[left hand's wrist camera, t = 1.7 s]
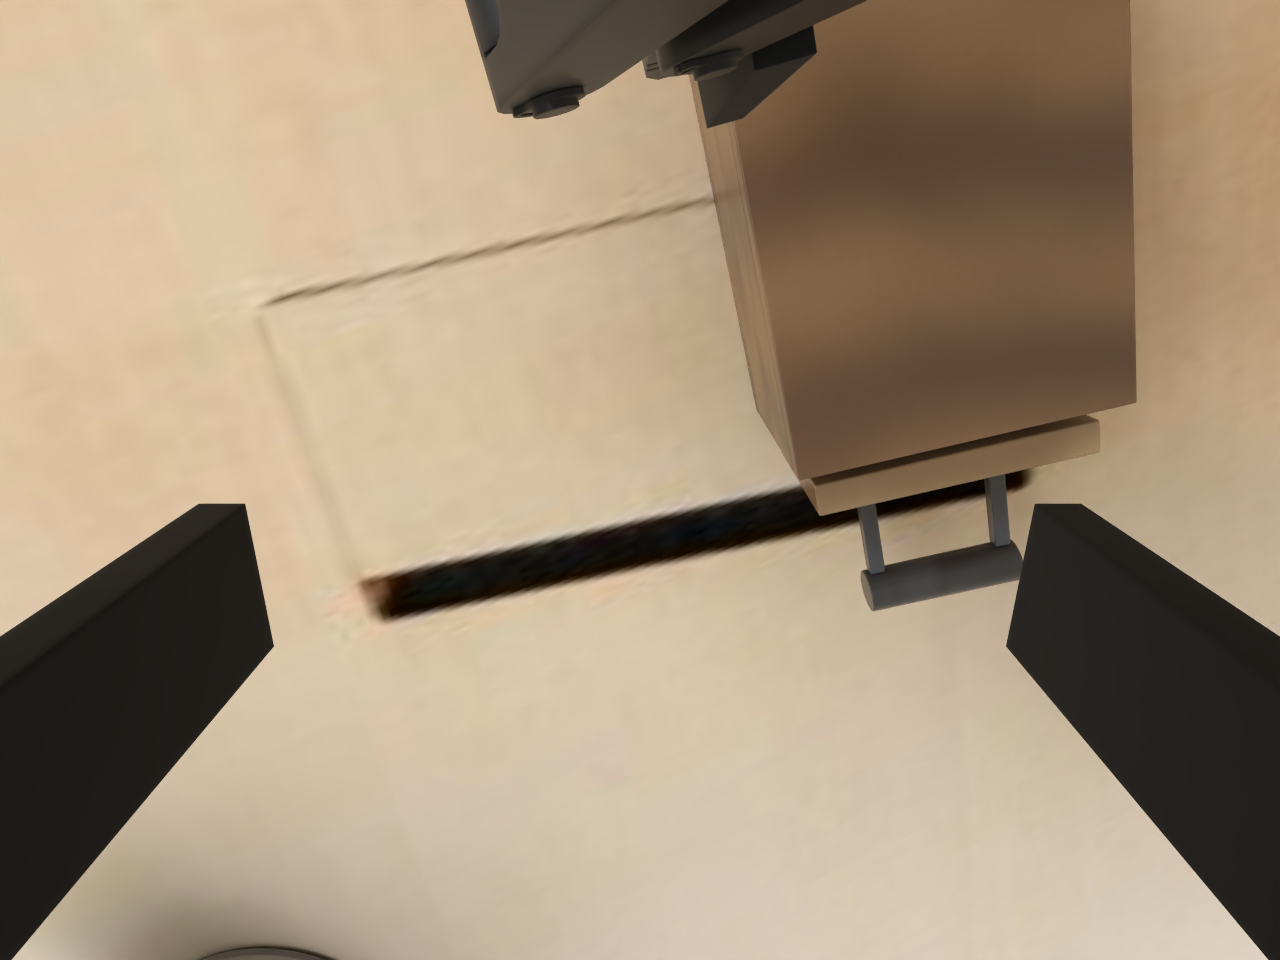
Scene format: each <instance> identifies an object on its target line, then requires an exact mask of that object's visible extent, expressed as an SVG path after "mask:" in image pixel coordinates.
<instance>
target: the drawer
mask: <svg viewBox="0 0 1280 960" xmlns="http://www.w3.org/2000/svg"><path fill="white" fill-rule="evenodd" d="M781 452H782V451H781ZM1098 452H1100V434H1099V421H1098V420H1097V419H1094V418H1092V417H1090V416H1088V415H1086V414H1085V415H1081V416H1076V417H1072V418H1068V419H1064V420H1059V421H1055V422H1051V423H1046V424H1042V425H1038V426H1033V427H1029V428H1025V429H1020V430H1016V431H1012V432H1008V433H1003V434H999V435H995V436H990V437H986V438H982V439H977V440H973V441H969V442H964V443H960V444H956V445H952V446H947V447H943V448H939V449H934V450H930V451H926V452H921V453H917V454H913V455H908V456H904V457H900V458H896V459H891V460H887V461H883V462H878V463H874V464H870V465H865V466H861V467H857V468H852V469H848V470H844V471H840V472H835V473H831V474H827V475H822V476H818V477H814V478H809V479H805V480H799V479H798V477H797V476H796V477H797V479H798V480H799V482H800V484H801V485H802V487H803V489H804V491H805V492H806V494H807V496H808V497H809V499H810V501H811V502H812V504H813V506H814V507H815V509H816V511H817V512H818V514H819V515H820V516H822V515H827V514H831V513H835V512H840V511H844V510H849V509H853V508H857V509H858V515H859V522H860V528H861V534H862V540H863V547H864V553H865V559H866V565H867V570H863V571H861V583H862V588H863V592H864V595H865V598H866V601H867V603H868V605H869V607H870V609H871V610H872V611H877V610H882V609H886V608H891V607H895V606H900V605H905V604H909V603H914V602H919V601H923V600H928V599H933V598H937V597H942V596H946V595H951V594H956V593H960V592H965V591H970V590H974V589H979V588H983V587H988V586H993V585H997V584H1002V583H1007V582H1011V581H1016V580H1020V575H1021V570H1022V565H1023V560H1022V556H1021V554H1020V551H1019V549H1018V547H1017V546H1016V544H1015V543H1014V542H1013V541H1012V540H1011V539H1010V532H1009V520H1008V508H1007V496H1006V484H1005V474H1007V473H1011V472H1015V471H1020V470H1024V469H1029V468H1033V467H1037V466H1042V465H1046V464H1050V463H1055V462H1059V461H1064V460H1068V459H1072V458H1077V457H1081V456H1086V455H1090V454H1094V453H1098ZM782 454H783V452H782ZM783 455H784V454H783ZM784 457H785V456H784ZM785 459H786V457H785ZM786 460H787V459H786ZM787 462H788V461H787ZM788 464H789V462H788ZM789 465H790V464H789ZM790 467H791V466H790ZM791 469H792V467H791ZM792 470H793V469H792ZM793 472H794V471H793ZM794 474H795V472H794ZM795 475H796V474H795ZM980 479H984V482H985V493H986V503H987V514H988V525H989V535H990V541H991V542H989V543H984V544H980V545H975V546H971V547H966V548H962V549H957V550H953V551H948V552H944V553H939V554H934V555H930V556H925V557H921V558H916V559H912V560H907V561H903V562H898V563H894V564H889V565H885V566H884V560H883V553H882V546H881V540H880V533H879V527H878V520H877V513H876V507H875V503H879V502H884V501H888V500H892V499H897V498H901V497H906V496H910V495H914V494H919V493H923V492H928V491H932V490H936V489H941V488H945V487H949V486H954V485H958V484H963V483H967V482H971V481H976V480H980Z"/></svg>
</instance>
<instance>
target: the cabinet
mask: <svg viewBox="0 0 1280 960" xmlns="http://www.w3.org/2000/svg"><path fill="white" fill-rule="evenodd" d="M813 28H814V35H815V42H816V48H817V53H816V54H815V55H814V56H813V57H812V58H811V59H810V60H808V61H807V62H806V63H805V64H804V65H803V66H802V67H800V68H799V69H798V70H797V71H796V72H795V73H794V74H793V75H791V76H790V77H789V78H788V79H787V80H786V81H785V82H784V83H782V84H781V85H780V86H779V87H778V88H777V89H776V90H775V91H773V92H772V93H771V94H770V95H769V96H768V97H767V98H765V99H764V100H763V101H762V102H761V103H760V104H759V105H758V106H756V107H755V108H754V109H753V110H752V111H751V112H750V113H749V114H747V115H746V116H745V117H744V118H743V119H739V120H735V121H732V122H728V123H725V124H721V125H718V126H714V127H711V128H707V126H706V122H705V117H704V112H703V107H702V102H701V97H700V92H699V87H698V82H697V81H694V77H693V75H689V76H690V81H691V86H692V91H693V96H694V101H695V106H696V111H697V116H698V121H699V126H700V131H701V136H702V141H703V146H704V151H705V156H706V161H707V166H708V171H709V176H710V181H711V186H712V190H713V195H714V200H715V205H716V210H717V215H718V220H719V225H720V230H721V235H722V240H723V245H724V250H725V255H726V260H727V265H728V270H729V275H730V280H731V285H732V290H733V295H734V300H735V305H736V310H737V315H738V320H739V325H740V330H741V335H742V340H743V345H744V350H745V355H746V359H747V364H748V369H749V374H750V379H751V384H752V389H753V394H754V399H755V404H756V409H757V411H758V413H759V414H760V416H761V418H762V419H763V421H764V423H765V424H766V426H767V428H768V429H769V431H770V433H771V434H772V436H773V438H774V439H775V441H776V443H777V444H778V446H779V447H780V449H781V451H782V452H783V454H784V456H785V457H786V459H787V461H788V462H789V464H790V466H791V467H792V469H793V471H794V472H795V474H796V476H797V477H798V479H799V480H805V479H809V478H814V477H818V476H822V475H827V474H831V473H835V472H840V471H844V470H848V469H852V468H857V467H861V466H865V465H870V464H874V463H878V462H883V461H887V460H891V459H896V458H900V457H904V456H908V455H913V454H917V453H921V452H926V451H930V450H934V449H939V448H943V447H947V446H952V445H956V444H960V443H964V442H969V441H973V440H977V439H982V438H986V437H990V436H995V435H999V434H1003V433H1008V432H1012V431H1016V430H1020V429H1025V428H1029V427H1033V426H1038V425H1042V424H1046V423H1051V422H1055V421H1059V420H1064V419H1068V418H1072V417H1076V416H1081V415H1085V414H1089V413H1094V412H1098V411H1102V410H1107V409H1111V408H1115V407H1119V406H1124V405H1128V404H1132V403H1136V344H1135V283H1134V223H1133V162H1132V102H1131V42H1130V0H867V1H865V2H863V3H861V4H859V5H856V6H854V7H852V8H850V9H848V10H845V11H843V12H841V13H839V14H837V15H834V16H832V17H830V18H828V19H826V20H823V21H821V22H819V23H817V24H814V25H813Z"/></svg>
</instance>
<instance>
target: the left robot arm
mask: <svg viewBox="0 0 1280 960" xmlns="http://www.w3.org/2000/svg"><path fill="white" fill-rule="evenodd" d="M273 647H274V645H273V640H272V635H271V630H270V625H269V620H268V615H267V610H266V605H265V600H264V595H263V590H262V585H261V580H260V575H259V570H258V565H257V560H256V556H255V551H254V546H253V541H252V536H251V531H250V526H249V521H248V516H247V511H246V506H245V504H198V505H196V506H195V507H193V508H192V509H190V510H189V511H187V512H186V513H184V514H183V515H181V516H180V517H178V518H177V519H175V520H174V521H172V522H171V523H169V524H168V525H166V526H165V527H163V528H162V529H161V530H159V531H158V532H156V533H155V534H153V535H152V536H150V537H149V538H147V539H146V540H144V541H143V542H141V543H140V544H138V545H137V546H135V547H134V548H132V549H131V550H129V551H128V552H126V553H125V554H123V555H122V556H120V557H119V558H117V559H116V560H114V561H113V562H111V563H110V564H108V565H107V566H105V567H104V568H102V569H101V570H99V571H98V572H96V573H95V574H93V575H92V576H90V577H89V578H87V579H86V580H84V581H83V582H81V583H80V584H78V585H77V586H75V587H74V588H72V589H71V590H69V591H68V592H66V593H65V594H63V595H62V596H60V597H59V598H57V599H56V600H54V601H53V602H51V603H50V604H48V605H47V606H45V607H44V608H42V609H41V610H39V611H38V612H36V613H35V614H33V615H32V616H30V617H29V618H27V619H26V620H24V621H23V622H21V623H20V624H18V625H17V626H15V627H14V628H12V629H11V630H9V631H8V632H6V633H5V634H3V635H2V636H0V960H12V959H13V957H14V956H15V955H16V954H17V953H18V951H19V950H20V949H21V948H22V947H23V945H24V944H25V943H26V942H27V941H28V939H29V938H30V937H31V936H32V935H33V933H34V932H35V931H36V930H37V929H38V927H39V926H40V925H41V924H42V923H43V921H44V920H45V919H46V918H47V917H48V916H49V914H50V913H51V912H52V911H53V910H54V908H55V907H56V906H57V905H58V904H59V902H60V901H61V900H62V899H63V898H64V896H65V895H66V894H67V893H68V892H69V890H70V889H71V888H72V887H73V886H74V884H75V883H76V882H77V881H78V880H79V878H80V877H81V876H82V875H83V874H84V872H85V871H86V870H87V869H88V868H89V867H90V865H91V864H92V863H93V862H94V861H95V859H96V858H97V857H98V856H99V855H100V853H101V852H102V851H103V850H104V849H105V847H106V846H107V845H108V844H109V843H110V841H111V840H112V839H113V838H114V837H115V835H116V834H117V833H118V832H119V831H120V829H121V828H122V827H123V826H124V825H125V824H126V822H127V821H128V820H129V819H130V818H131V816H132V815H133V814H134V813H135V812H136V810H137V809H138V808H139V807H140V806H141V804H142V803H143V802H144V801H145V800H146V798H147V797H148V796H149V795H150V794H151V792H152V791H153V790H154V789H155V788H156V786H157V785H158V784H159V783H160V782H161V781H162V779H163V778H164V777H165V776H166V775H167V773H168V772H169V771H170V770H171V769H172V767H173V766H174V765H175V764H176V763H177V761H178V760H179V759H180V758H181V757H182V755H183V754H184V753H185V752H186V751H187V749H188V748H189V747H190V746H191V745H192V743H193V742H194V741H195V740H196V739H197V738H198V736H199V735H200V734H201V733H202V732H203V730H204V729H205V728H206V727H207V726H208V724H209V723H210V722H211V721H212V720H213V718H214V717H215V716H216V715H217V714H218V712H219V711H220V710H221V709H222V708H223V706H224V705H225V704H226V703H227V702H228V700H229V699H230V698H231V697H232V696H233V695H234V693H235V692H236V691H237V690H238V689H239V687H240V686H241V685H242V684H243V683H244V681H245V680H246V679H247V678H248V677H249V675H250V674H251V673H252V672H253V671H254V669H255V668H256V667H257V666H258V665H259V663H260V662H261V661H262V660H263V659H264V657H265V656H266V655H267V654H268V653H269V652H270V650H271V649H272V648H273ZM1006 647H1007V648H1008V649H1009V650H1010V652H1011V653H1012V654H1013V655H1014V656H1015V657H1016V659H1017V660H1018V661H1019V662H1020V663H1021V665H1022V666H1023V667H1024V668H1025V669H1026V671H1027V672H1028V673H1029V674H1030V675H1031V677H1032V678H1033V679H1034V680H1035V681H1036V683H1037V684H1038V685H1039V686H1040V687H1041V689H1042V690H1043V691H1044V692H1045V693H1046V695H1047V696H1048V697H1049V698H1050V699H1051V700H1052V702H1053V703H1054V704H1055V705H1056V706H1057V708H1058V709H1059V710H1060V711H1061V712H1062V714H1063V715H1064V716H1065V717H1066V718H1067V720H1068V721H1069V722H1070V723H1071V724H1072V726H1073V727H1074V728H1075V729H1076V730H1077V732H1078V733H1079V734H1080V735H1081V736H1082V738H1083V739H1084V740H1085V741H1086V742H1087V743H1088V745H1089V746H1090V747H1091V748H1092V749H1093V751H1094V752H1095V753H1096V754H1097V755H1098V757H1099V758H1100V759H1101V760H1102V761H1103V763H1104V764H1105V765H1106V766H1107V767H1108V769H1109V770H1110V771H1111V772H1112V773H1113V775H1114V776H1115V777H1116V778H1117V779H1118V781H1119V782H1120V783H1121V784H1122V785H1123V786H1124V788H1125V789H1126V790H1127V791H1128V792H1129V794H1130V795H1131V796H1132V797H1133V798H1134V800H1135V801H1136V802H1137V803H1138V804H1139V806H1140V807H1141V808H1142V809H1143V810H1144V812H1145V813H1146V814H1147V815H1148V816H1149V818H1150V819H1151V820H1152V821H1153V822H1154V824H1155V825H1156V826H1157V827H1158V828H1159V829H1160V831H1161V832H1162V833H1163V834H1164V835H1165V837H1166V838H1167V839H1168V840H1169V841H1170V843H1171V844H1172V845H1173V846H1174V847H1175V849H1176V850H1177V851H1178V852H1179V853H1180V855H1181V856H1182V857H1183V858H1184V859H1185V861H1186V862H1187V863H1188V864H1189V865H1190V867H1191V868H1192V869H1193V870H1194V871H1195V872H1196V874H1197V875H1198V876H1199V877H1200V878H1201V880H1202V881H1203V882H1204V883H1205V884H1206V886H1207V887H1208V888H1209V889H1210V890H1211V892H1212V893H1213V894H1214V895H1215V896H1216V898H1217V899H1218V900H1219V901H1220V902H1221V904H1222V905H1223V906H1224V907H1225V908H1226V910H1227V911H1228V912H1229V913H1230V914H1231V915H1232V917H1233V918H1234V919H1235V920H1236V921H1237V923H1238V924H1239V925H1240V926H1241V927H1242V929H1243V930H1244V931H1245V932H1246V933H1247V935H1248V936H1249V937H1250V938H1251V939H1252V941H1253V942H1254V943H1255V944H1256V945H1257V947H1258V948H1259V949H1260V950H1261V951H1262V953H1263V954H1264V955H1265V956H1266V957H1267V959H1268V960H1280V636H1278V635H1277V634H1275V633H1274V632H1272V631H1271V630H1269V629H1268V628H1266V627H1265V626H1263V625H1262V624H1260V623H1259V622H1257V621H1256V620H1254V619H1253V618H1251V617H1250V616H1248V615H1247V614H1245V613H1244V612H1242V611H1241V610H1239V609H1238V608H1236V607H1235V606H1233V605H1232V604H1230V603H1229V602H1227V601H1226V600H1224V599H1223V598H1221V597H1220V596H1218V595H1217V594H1215V593H1214V592H1212V591H1211V590H1209V589H1208V588H1206V587H1205V586H1203V585H1202V584H1200V583H1199V582H1197V581H1196V580H1194V579H1193V578H1191V577H1190V576H1188V575H1187V574H1185V573H1184V572H1182V571H1181V570H1179V569H1178V568H1176V567H1175V566H1173V565H1172V564H1170V563H1169V562H1167V561H1166V560H1164V559H1163V558H1161V557H1160V556H1158V555H1157V554H1155V553H1154V552H1152V551H1151V550H1149V549H1148V548H1146V547H1145V546H1143V545H1142V544H1140V543H1139V542H1137V541H1136V540H1134V539H1133V538H1131V537H1130V536H1128V535H1127V534H1125V533H1124V532H1122V531H1121V530H1119V529H1118V528H1117V527H1115V526H1114V525H1112V524H1111V523H1109V522H1108V521H1106V520H1105V519H1103V518H1102V517H1100V516H1099V515H1097V514H1096V513H1094V512H1093V511H1091V510H1090V509H1088V508H1087V507H1085V506H1084V505H1082V504H1035V506H1034V511H1033V516H1032V521H1031V526H1030V531H1029V536H1028V541H1027V546H1026V551H1025V556H1024V560H1023V565H1022V570H1021V575H1020V580H1019V585H1018V590H1017V595H1016V600H1015V605H1014V610H1013V615H1012V620H1011V625H1010V630H1009V635H1008V640H1007V645H1006ZM202 960H325V959H322V958H319V957H316V956H313V955H309V954H305V953H301V952H296V951H290V950H283V949H271V948H249V949H239V950H233V951H227V952H223V953H219V954H215V955H212V956H210V957H207V958H204V959H202Z"/></svg>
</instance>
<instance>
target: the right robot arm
mask: <svg viewBox="0 0 1280 960" xmlns="http://www.w3.org/2000/svg"><path fill="white" fill-rule="evenodd" d="M865 1H867V0H465V2H466V5H467V9H468V12H469V15H470V19H471V22H472V26H473V29H474V33H475V36H476V39H477V43H478V46H479V50H480V53H481V57H482V60H483V63H484V67H485V70H486V74H487V77H488V81H489V84H490V87H491V91H492V94H493V98H494V101H495V105H496V108H497V111H498V112H500V113H503V114H513V117H514V118H520V117H521V118H523V117H530V116H533V117H534V118H535V119H543V118H549V117H553V116H557V115H560V114H564V113H567V112H569V111H572V110H574V109H576V108H578V107H579V102H578V100H580V99H582V98H583V97H585V96H586V95H587V94H590V93H592V92H594V91H596V90H598V89H599V88H601V87H603V86H605V85H606V84H607V83H609V82H610V81H612V80H613V79H615V78H616V77H618V76H619V75H621V74H622V73H623V72H625V71H626V70H628V69H629V68H631V67H632V66H634V65H635V64H637V63H638V62H639V61H641V60H642V61H643V65H644V69H645V74H646V78H651V79H657V80H659V79H662V78H666V77H671V76H680V75H686V74H689V75H693V77H694V81H697V82H698V87H699V92H700V97H701V102H702V107H703V112H704V117H705V122H706V126H707V128H711V127H714V126H718V125H721V124H725V123H728V122H732V121H735V120H739V119H743V118H744V117H745V116H746V115H747V114H749V113H750V112H751V111H752V110H753V109H754V108H755V107H756V106H758V105H759V104H760V103H761V102H762V101H763V100H764V99H765V98H767V97H768V96H769V95H770V94H771V93H772V92H773V91H775V90H776V89H777V88H778V87H779V86H780V85H781V84H782V83H784V82H785V81H786V80H787V79H788V78H789V77H790V76H791V75H793V74H794V73H795V72H796V71H797V70H798V69H799V68H800V67H802V66H803V65H804V64H805V63H806V62H807V61H808V60H810V59H811V58H812V57H813V56H814V55H815V54H816V53H817V48H816V42H815V35H814V28H813V25H814V24H817V23H819V22H821V21H823V20H826V19H828V18H830V17H832V16H834V15H837V14H839V13H841V12H843V11H845V10H848V9H850V8H852V7H854V6H856V5H859V4H861V3H863V2H865Z"/></svg>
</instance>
